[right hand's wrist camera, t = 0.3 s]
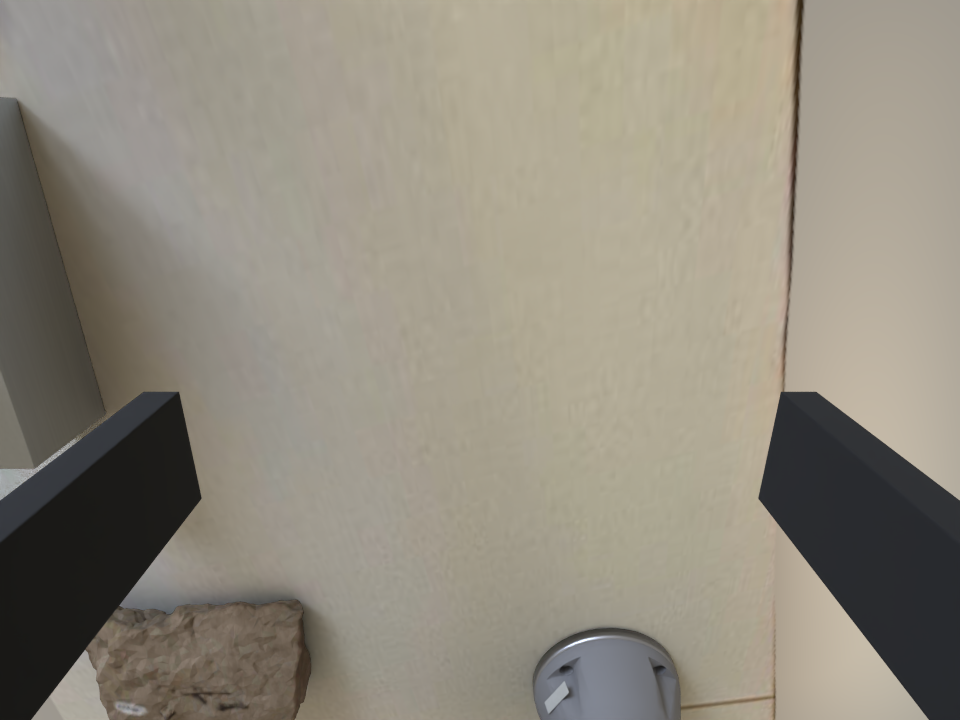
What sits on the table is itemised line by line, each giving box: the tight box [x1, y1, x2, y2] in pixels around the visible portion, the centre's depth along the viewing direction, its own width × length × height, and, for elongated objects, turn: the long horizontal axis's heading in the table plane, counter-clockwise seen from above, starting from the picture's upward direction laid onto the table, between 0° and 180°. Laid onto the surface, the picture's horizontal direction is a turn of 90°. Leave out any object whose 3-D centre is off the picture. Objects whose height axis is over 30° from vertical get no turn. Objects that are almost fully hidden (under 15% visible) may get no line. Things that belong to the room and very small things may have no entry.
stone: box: [85, 600, 311, 720], centre depth 57 cm, size 21×15×6 cm
